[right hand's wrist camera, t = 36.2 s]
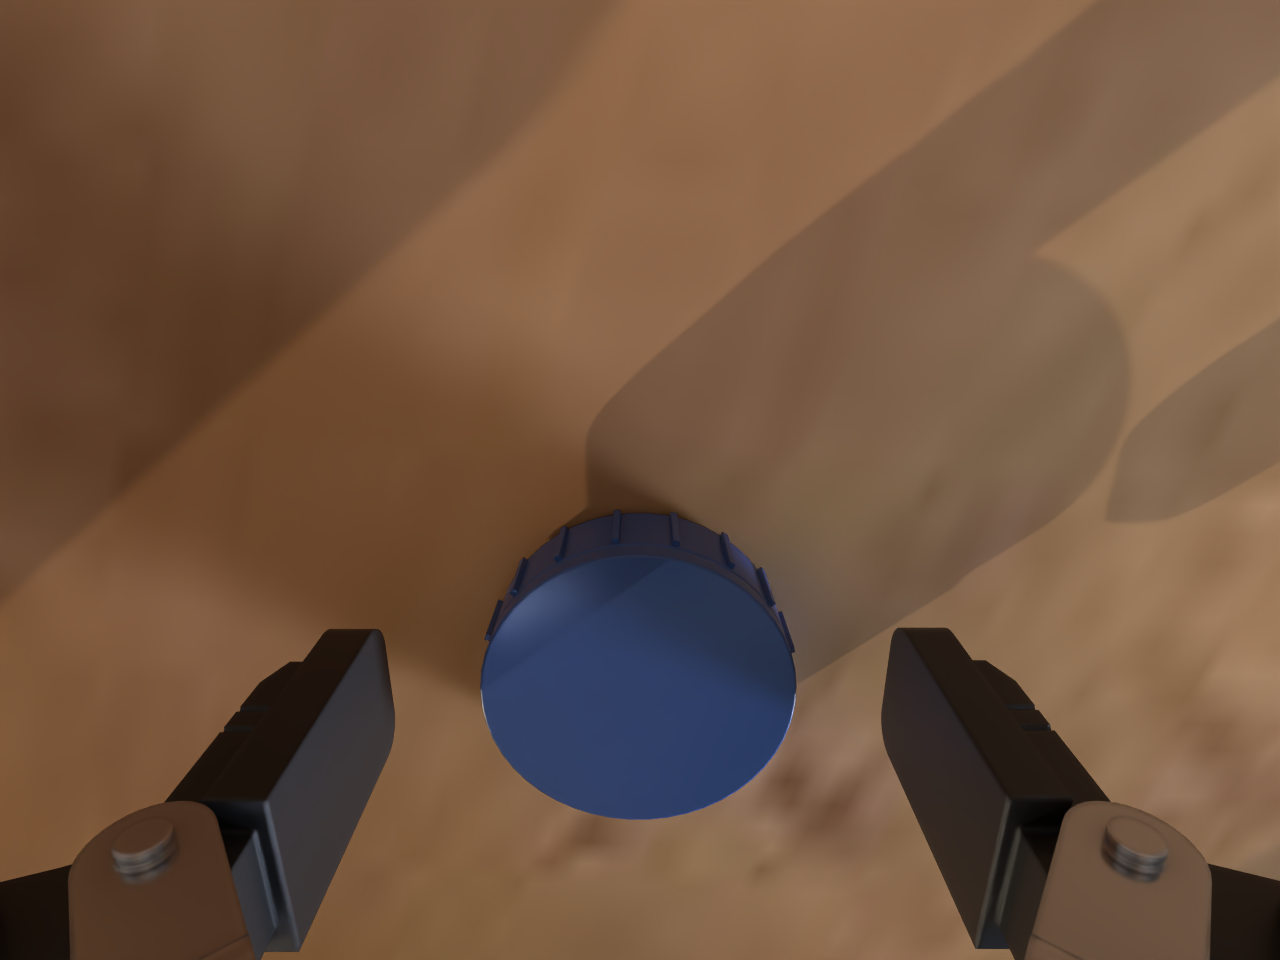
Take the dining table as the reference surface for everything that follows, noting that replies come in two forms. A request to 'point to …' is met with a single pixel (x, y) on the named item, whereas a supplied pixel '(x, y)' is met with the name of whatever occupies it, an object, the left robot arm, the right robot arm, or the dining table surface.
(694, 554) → the lid
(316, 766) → the right robot arm
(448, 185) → the dining table surface
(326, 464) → the dining table surface
